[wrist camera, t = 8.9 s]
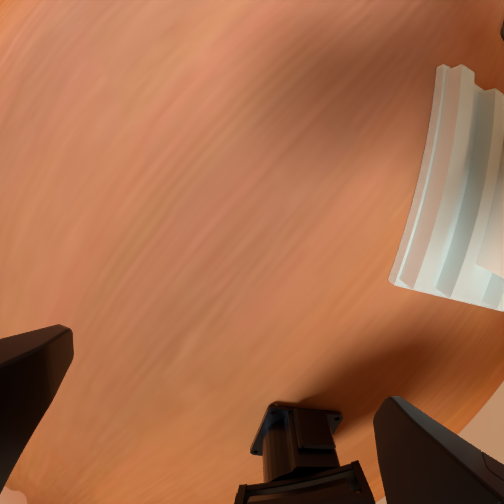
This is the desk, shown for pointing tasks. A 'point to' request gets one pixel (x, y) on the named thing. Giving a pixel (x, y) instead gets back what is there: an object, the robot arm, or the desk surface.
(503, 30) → the smartphone
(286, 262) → the desk surface
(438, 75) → the rack
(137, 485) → the desk surface
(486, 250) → the white rectangular block
